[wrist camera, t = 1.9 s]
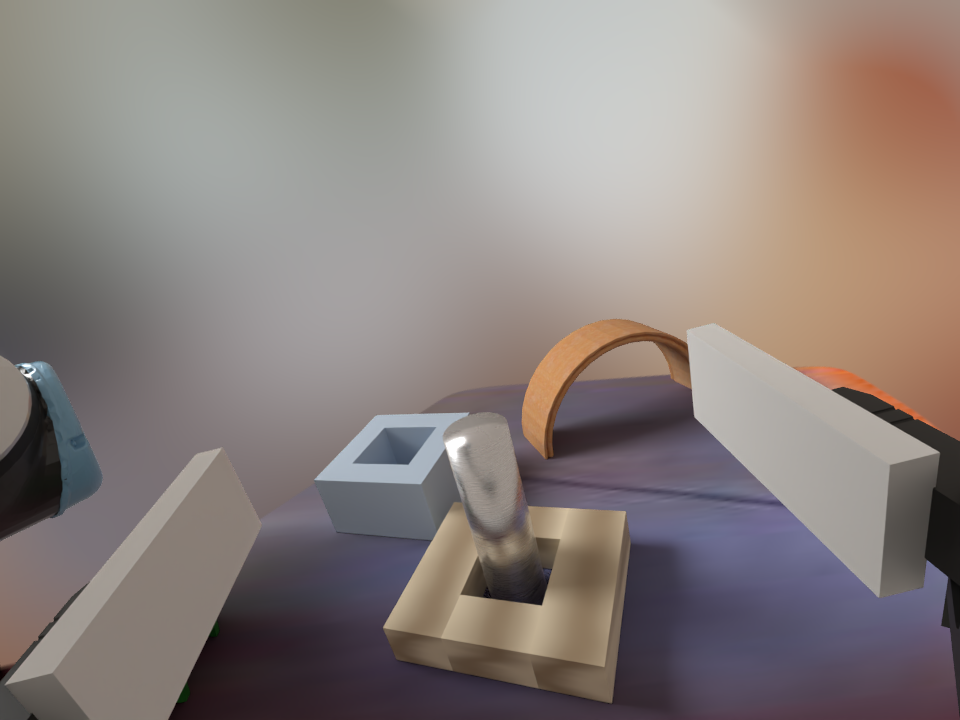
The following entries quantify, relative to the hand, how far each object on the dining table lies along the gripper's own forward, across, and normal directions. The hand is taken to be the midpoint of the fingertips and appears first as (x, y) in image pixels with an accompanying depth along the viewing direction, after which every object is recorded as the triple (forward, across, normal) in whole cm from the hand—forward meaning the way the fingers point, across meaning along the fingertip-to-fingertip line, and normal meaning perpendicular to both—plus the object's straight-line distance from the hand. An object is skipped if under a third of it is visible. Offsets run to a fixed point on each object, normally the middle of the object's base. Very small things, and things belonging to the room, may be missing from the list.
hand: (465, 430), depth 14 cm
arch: (+35, +13, -22) cm, 44 cm away
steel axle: (+14, -1, -22) cm, 26 cm away
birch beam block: (+14, -1, -22) cm, 26 cm away
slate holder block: (+29, -9, -22) cm, 38 cm away
